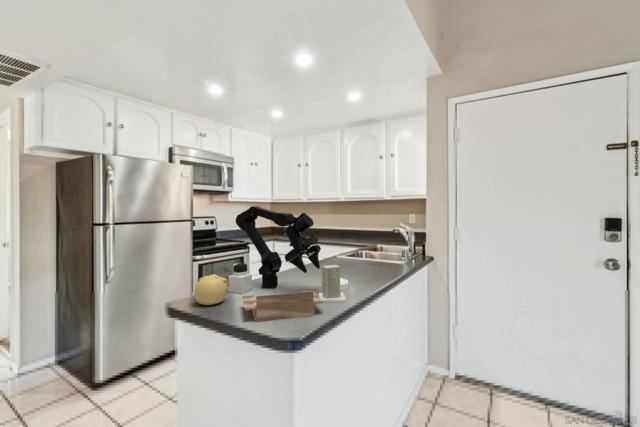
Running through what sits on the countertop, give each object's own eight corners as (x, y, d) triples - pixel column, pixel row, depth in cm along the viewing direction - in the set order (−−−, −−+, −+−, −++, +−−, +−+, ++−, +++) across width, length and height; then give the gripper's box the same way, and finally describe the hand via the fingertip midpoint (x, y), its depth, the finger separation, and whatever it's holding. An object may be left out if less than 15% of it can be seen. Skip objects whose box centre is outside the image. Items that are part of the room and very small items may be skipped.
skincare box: (336, 293, 130) (336, 264, 129) (340, 296, 126) (340, 266, 125) (322, 295, 128) (321, 265, 127) (325, 298, 123) (325, 267, 123)
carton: (242, 306, 117) (242, 285, 117) (311, 300, 125) (311, 280, 124) (245, 322, 102) (245, 297, 101) (323, 313, 109) (323, 290, 109)
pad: (320, 302, 121) (320, 300, 121) (318, 295, 131) (318, 292, 131) (346, 302, 122) (345, 299, 122) (342, 294, 132) (342, 292, 132)
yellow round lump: (231, 298, 127) (231, 272, 127) (217, 308, 116) (217, 279, 115) (205, 297, 129) (204, 271, 129) (188, 307, 117) (188, 278, 117)
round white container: (317, 289, 142) (317, 281, 142) (330, 283, 152) (330, 275, 152) (340, 293, 136) (340, 284, 135) (353, 286, 146) (353, 279, 146)
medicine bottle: (252, 289, 140) (251, 262, 140) (241, 293, 134) (241, 265, 134) (239, 288, 143) (238, 261, 143) (228, 292, 137) (228, 264, 137)
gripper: (294, 230, 125) (312, 265, 120) (320, 226, 140) (337, 257, 136) (276, 244, 130) (293, 278, 126) (304, 239, 146) (320, 269, 141)
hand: (312, 270), depth 132 cm, fingers open, 9 cm apart
